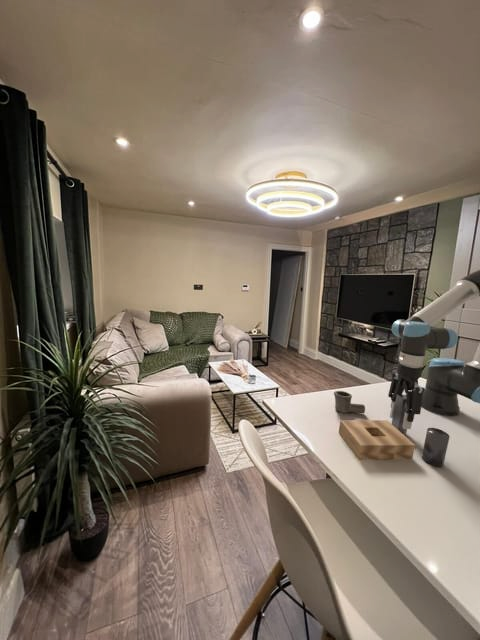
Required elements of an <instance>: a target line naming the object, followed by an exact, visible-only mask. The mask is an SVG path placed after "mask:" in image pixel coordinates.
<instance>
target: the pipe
mask: <svg viewBox="0 0 480 640" xmlns="http://www.w3.org/2000/svg"><path fill="white" fill-rule="evenodd" d="M333 396H334V402H335V403H334V404H335V407H334V408H335V410H336V412H338V413H342V414H347V413H354V414H365V413H366V406H365V404H362V403H352V397H353V395H352V394H351V393H349V392H347V391H343V390H335V391H334V392H333Z"/></svg>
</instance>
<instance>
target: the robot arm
mask: <svg viewBox="0 0 480 640" xmlns="http://www.w3.org/2000/svg"><path fill="white" fill-rule="evenodd" d="M479 297H480V269H478V270H476V271H474V272H471V273H469V274H467V275H466V276H464V277H462V278H461V279H459V280H458V281H457V282H455V283H454V286H453V287H452V288H451V289H449V290H448V291H446V292H445V293H444V294H442V295H441V296H439V297H438V298H436V299H434V300H433V301H432V302H431V303H429V304H427V305H426V306H425V307H423V308H422V309H420V310H419V311H417V312H416V313H414V314H413V315H412V316H410V317H409V318H407V319H406V320H405V319H396V321H394V322H393V324H392V325H391V332H392V334H393V335H394V336H396V337H398V338H399V339H401V343H400V349H399V356H398V363H397V367H396V373H391V383H390V386H389V390H388V395H387V397H388V398H390V400H391V403H390V412H389V418H390V419H392V418H393V412H394V407H395V401H396V395H397V394H401V395H403V393H405V395H406V398H407V411H405V416H404V421H403V427H402V428H403V429H407V430H412V424H413V422H414V419H415V415H421V410H422V408H423V409H424V410H428V411H429V412H432V413H434V414H438V415H441V416H446V417H456V416H459V414H460V411H461V410H460V409H461V408H460V406H459V399H458V395H460V396H462V397H464V398H467V399H469V400H471V401H472V402H474V403H478V404H480V342H479V343H478V347H477V349H476V352H475V353H474V357H473V359H472V361H469V362H467V363H466V364H465V362H464V361H463V360H459V359H455V358H448V357H445V358H444V357H434V358H431V360H430V362H429V366H428V371H427V376H426V381H425V387H423V386H420V385H419V379H420V378H421V377H422V373H423V366H424V364H425V363H424V362H425V357H426V352H427V350H429V349H430V350H446V349H451V348H454V347H455V346H456V345H457V343H458V340H459V339H458V338H459V337H458V334H457V332H456V331H455V330H453V329H451V328H449V327H448V328H447V327H446V328H445V327H437V326H436V327H435V326H434V325H435V324H437V323H439V322H441V320H443V319H444V318H446V317H447V316H448V315H450V314H451V313H454V311H456V310H457V309H458V308H460V307H462V306H463V305H464V304H465V303H467V302H469V301H472V300H473V301H474V300H476V299H478V298H479Z"/></svg>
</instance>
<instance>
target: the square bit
mask: <svg viewBox="0 0 480 640" xmlns="http://www.w3.org/2000/svg"><path fill="white" fill-rule="evenodd" d="M405 411H407V398H406V394H402V395H401V394H397V395H396V401H395V407H394V412H393V418H391V424H392V425H393V426H394V427H395V428H396V429H397V430H399V431H400V432H401V433H402V434H403V435H407V431H408V429H403V428H402V427H403V421H404V416H405Z"/></svg>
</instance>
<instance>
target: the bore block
mask: <svg viewBox="0 0 480 640" xmlns="http://www.w3.org/2000/svg"><path fill="white" fill-rule="evenodd" d="M338 434H339V435H340V436H341V438H342V439H343V441H344V442H345V443H346V444H347V446H348V447H349V448H350V450H351V451H352V453H353V454H354V456H356V458H357V459H358V460H360V461H361V460H372V461H373V460H413V459H414V458H413V457H414V454H415V448H416V444H414V443H413V441H411V440H410V439H409V438H407V436H405V434H402V433H401V432H400V431H399V430H397V429H396V428H395V427H394V426H393V425H392V422H390V421H389V420H385V419H384V420H382V419H381V420H378V419H377V420H375V419H373V420H371V419H370V420H368V419H366V420H365V419H359V420H358V419H356V420H355V419H353V420H352V419H351V420H348V419H345V420H344V419H342V420H341V419H340V421H339V429H338Z"/></svg>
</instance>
